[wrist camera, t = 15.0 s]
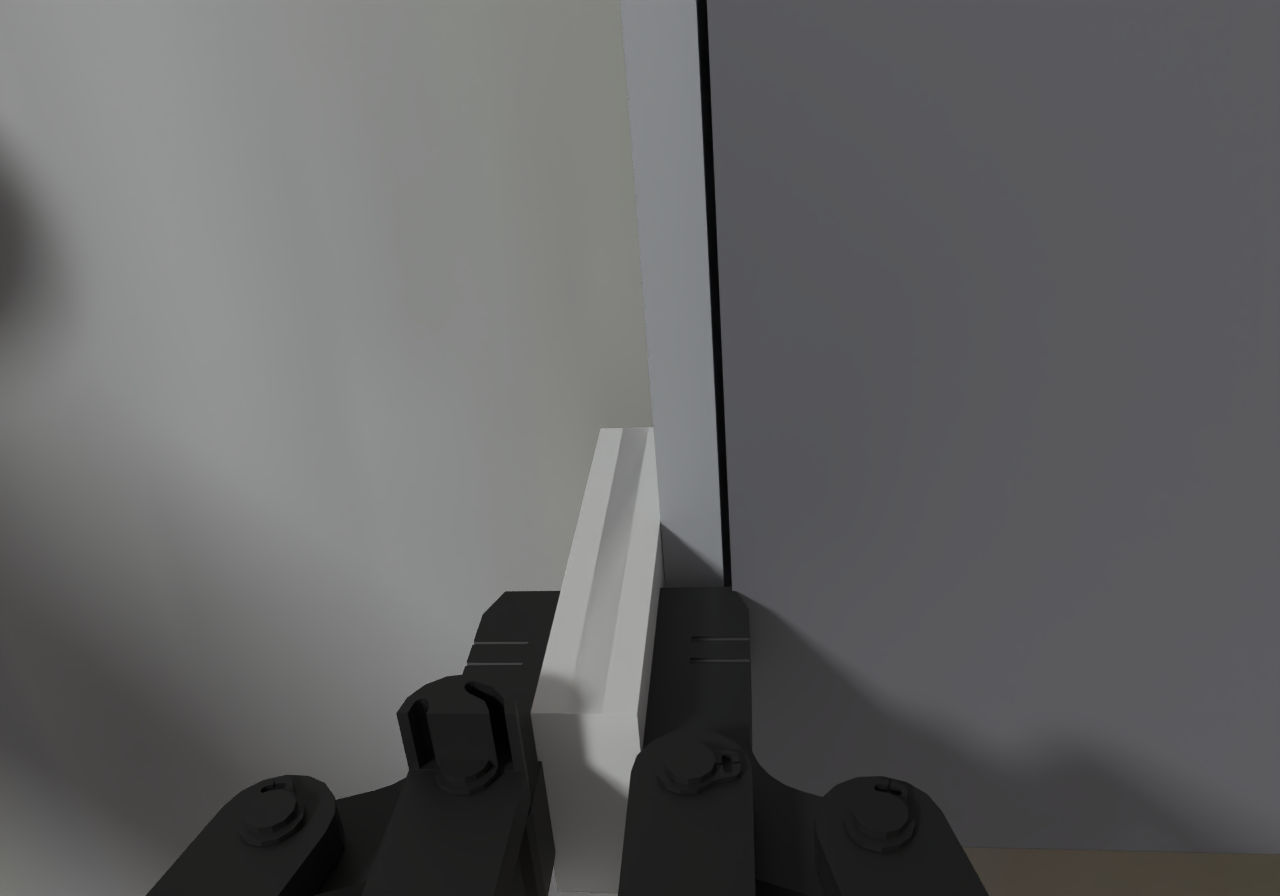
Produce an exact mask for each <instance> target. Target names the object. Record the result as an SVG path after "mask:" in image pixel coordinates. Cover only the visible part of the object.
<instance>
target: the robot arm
mask: <svg viewBox="0 0 1280 896" xmlns="http://www.w3.org/2000/svg"><path fill="white" fill-rule="evenodd" d="M396 714H397V718H398V722H399V727H400V731H401V736H402V740H403V744H404V749H405V753H406V758H407V762H408V766H409V772H408V775H407V777H406V778H404V779H402V780H401V781H399V782H397V783H395V784H393V785H390V786H387V787H384V788H381V789H378V790H375V791H371V792H367V793H363V794H359V795H354V796H350V797H346V798H342V799H338V800H335V797H334V795H333V794H332V792H331V791H330V790H329V788H328V787H327V785H326V784H325V783H323V782H321V781H319V780H316V779H314V778H312V777H310V776H300V775H284V776H280V777H275V778H271V779H266V780H263V781H261V782H259V783H257V784H255V785H253V786H251V787H249V788H247V789H245V790H243V791H241V792H240V793H239V794H237V795H236V796H235V797H234V798H233V799H232V800H230V801H229V802H228V803H227V804H226V805H225V806H224V807H223V808H222V809H221V810H220V811H219V812H218V813H217V814H216V816H215V817H214V818H213V819H212V820H211V821H210V822H209V824H208V825H207V826H206V827H205V828H204V829H203V830H202V832H201V833H200V834H199V835H198V836H197V837H196V839H195V840H194V841H193V842H192V843H191V844H190V845H189V847H188V848H187V849H186V850H185V851H184V852H183V853H182V855H181V856H180V857H179V858H178V859H177V860H176V862H175V863H174V864H173V865H172V866H171V867H170V868H169V870H168V871H167V872H166V873H165V874H164V875H163V876H162V878H161V879H160V880H159V881H158V882H157V883H156V885H155V886H154V887H153V888H152V889H151V890H150V891H149V893H148V894H147V895H146V896H548V892H549V887H550V881H551V876H552V871H553V865H554V869H555V875H556V882H557V888H558V891H561V892H590V893H618V896H989V895H988V893H987V891H986V890H985V888H984V886H983V884H982V882H981V881H980V879H979V877H978V875H977V873H976V872H975V870H974V868H973V866H972V864H971V862H970V861H969V859H968V857H967V855H966V853H965V852H964V850H963V848H962V846H961V844H960V843H959V841H958V839H957V837H956V835H955V834H954V832H953V830H952V828H951V826H950V824H949V823H948V821H947V819H946V817H945V815H944V814H943V812H942V810H941V809H940V808H939V807H938V806H937V805H936V803H935V802H934V801H933V800H932V799H931V798H930V796H929V795H928V794H926V793H925V792H923V791H921V790H920V789H918V788H916V787H914V786H913V785H911V784H909V783H908V782H905V781H901V780H897V779H893V778H889V777H884V776H867V777H856V778H853V779H850V780H848V781H845V782H842V783H839V784H837V785H835V786H834V787H833V788H832V789H831V790H830V791H829V792H827V793H826V794H825V795H824V796H823V797H821V796H818V795H814V794H810V793H807V792H803V791H800V790H797V789H795V788H792V787H789V786H787V785H785V784H783V783H781V782H780V781H778V780H777V779H775V778H773V777H772V776H770V775H769V774H768V773H767V772H766V771H765V770H764V769H763V768H762V767H761V766H760V765H759V763H758V761H757V759H756V757H755V756H754V754H753V752H752V690H751V659H750V629H749V609H748V608H747V606H746V605H745V603H744V602H743V600H742V599H741V597H740V596H739V595H738V593H737V592H736V591H732V587H678V588H666V585H665V572H664V559H663V546H662V533H661V521H660V508H659V495H658V482H657V469H656V456H655V443H654V430H653V427H636V428H601V429H600V433H599V437H598V441H597V445H596V449H595V453H594V457H593V462H592V466H591V470H590V474H589V478H588V482H587V486H586V490H585V494H584V498H583V502H582V506H581V510H580V514H579V518H578V522H577V527H576V531H575V535H574V539H573V543H572V547H571V551H570V555H569V559H568V563H567V567H566V571H565V575H564V579H563V583H562V588H561V591H512V592H504V593H503V594H502V595H501V596H500V597H499V599H498V600H497V601H496V602H495V603H494V604H493V605H492V606H491V607H490V608H489V609H488V610H487V611H486V612H485V613H484V614H483V616H482V619H481V622H480V624H479V627H478V630H477V633H476V636H475V639H474V645H472V648H471V651H470V654H469V657H468V660H467V666H465V669H464V672H463V675H455V676H447V677H444V678H442V679H439V680H436V681H434V682H431V683H429V684H426V685H424V686H423V687H421V688H420V689H419V690H417V691H416V692H414V693H413V694H412V695H410V696H409V697H407V699H406V700H405V702H404V703H403V704H402V706H401V707H400V709H399V710H398V712H397V713H396Z"/></svg>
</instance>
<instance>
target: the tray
mask: <svg viewBox="0 0 1280 896" xmlns="http://www.w3.org/2000/svg"><path fill="white" fill-rule="evenodd" d="M620 4H621V17H622V30H623V43H624V56H625V69H626V82H627V95H628V108H629V121H630V133H631V146H632V159H633V172H634V185H635V198H636V211H637V224H638V237H639V250H640V262H641V275H642V288H643V301H644V314H645V327H646V340H647V353H648V366H649V379H650V391H651V404H652V417H653V430H654V443H655V456H656V469H657V482H658V495H659V508H660V521H661V533H662V546H663V559H664V572H665V585H666V588H678V587H732V573H731V550H730V527H729V503H728V480H727V457H726V433H725V410H724V387H723V364H722V340H721V317H720V294H719V270H718V247H717V224H716V201H715V177H714V154H713V131H712V107H711V84H710V61H709V38H708V14H707V0H620Z"/></svg>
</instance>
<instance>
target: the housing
mask: <svg viewBox="0 0 1280 896" xmlns="http://www.w3.org/2000/svg"><path fill="white" fill-rule="evenodd" d="M707 14H708V38H709V61H710V84H711V107H712V131H713V154H714V177H715V201H716V224H717V247H718V270H719V294H720V317H721V340H722V364H723V387H724V410H725V433H726V457H727V480H728V503H729V527H730V550H731V573H732V591H736V592H737V593H738V595H739V596H740V597H741V599H742V600H743V602H744V603H745V605H746V606H747V608H748V609H749V629H750V659H751V690H752V752H753V754H754V756H755V757H756V759H757V761H758V763H759V765H760V766H761V767H762V768H763V769H764V770H765V771H766V772H767V773H768V774H769V775H770V776H772V777H773V778H775V779H777V780H778V781H780V782H781V783H783V784H785V785H787V786H789V787H792V788H795V789H797V790H800V791H803V792H807V793H810V794H814V795H818V796H821V797H823V796H824V795H825V794H826V793H827V792H829V791H830V790H831V789H832V788H833V787H834V786H835V785H837V784H839V783H842V782H845V781H848V780H850V779H853V778H856V777H867V776H884V777H889V778H893V779H897V780H901V781H905V782H908V783H909V784H911V785H913V786H914V787H916V788H918V789H920V790H921V791H923V792H925V793H926V794H928V795H929V796H930V798H931V799H932V800H933V801H934V802H935V803H936V805H937V806H938V807H939V808H940V809H941V810H942V812H943V814H944V815H945V817H946V819H947V821H948V823H949V824H950V826H951V828H952V830H953V832H954V834H955V835H956V837H957V839H958V841H959V843H960V844H961V846H962V847H977V848H1019V849H1062V850H1104V851H1147V852H1190V853H1232V854H1275V855H1280V0H707Z"/></svg>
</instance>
